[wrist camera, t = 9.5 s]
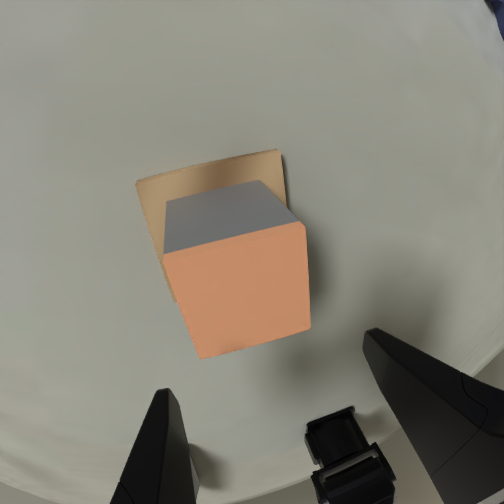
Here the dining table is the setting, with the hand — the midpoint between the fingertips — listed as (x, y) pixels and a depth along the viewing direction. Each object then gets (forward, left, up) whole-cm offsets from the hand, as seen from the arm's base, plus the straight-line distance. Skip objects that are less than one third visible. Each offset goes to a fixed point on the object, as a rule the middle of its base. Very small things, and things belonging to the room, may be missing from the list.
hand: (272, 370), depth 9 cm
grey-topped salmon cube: (0, 0, -10) cm, 10 cm away
